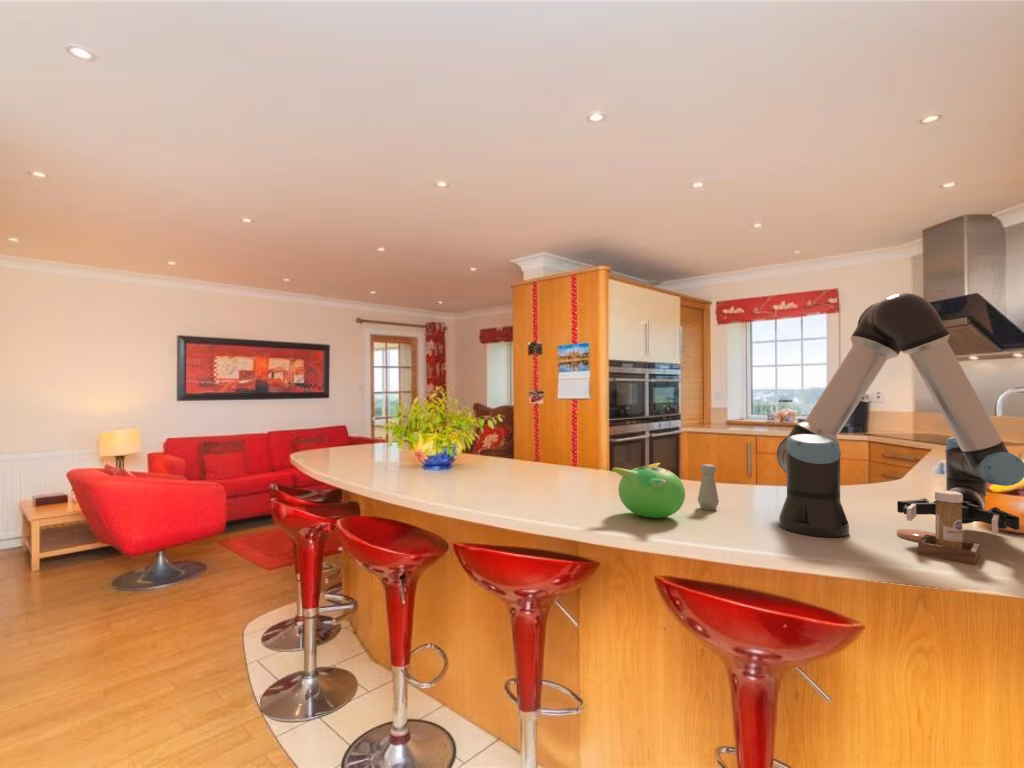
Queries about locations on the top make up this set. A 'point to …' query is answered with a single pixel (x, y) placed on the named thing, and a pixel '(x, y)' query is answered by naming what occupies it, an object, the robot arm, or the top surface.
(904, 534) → the terracotta coaster
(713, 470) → the salt shaker
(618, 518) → the top surface
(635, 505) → the green cartoon creature figurine
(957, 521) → the sprinkles bottle
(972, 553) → the walnut collar
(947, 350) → the robot arm
